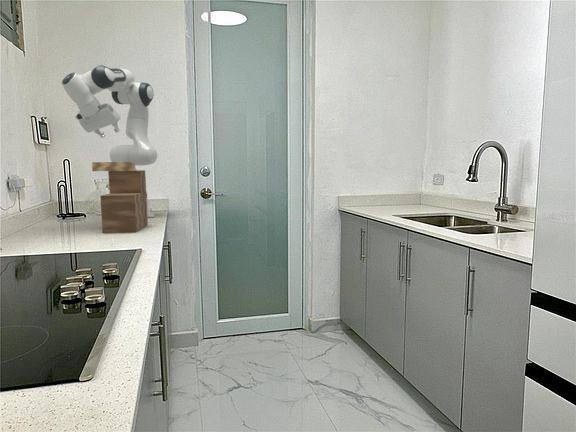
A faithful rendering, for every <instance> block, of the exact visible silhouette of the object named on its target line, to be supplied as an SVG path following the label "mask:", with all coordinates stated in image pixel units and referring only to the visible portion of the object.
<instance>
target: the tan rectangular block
mask: <svg viewBox="0 0 576 432" xmlns="http://www.w3.org/2000/svg"><path fill="white" fill-rule="evenodd" d="M91 168H92V172H108V171H135V168H136V165H135V166H134V162H112V161H110V162H109V161H105V162H104V161H103V162H102V161H100V162H99V161H97V162H94V161H93V162H92V163H91Z"/></svg>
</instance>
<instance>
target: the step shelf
mask: <svg viewBox="0 0 576 432" xmlns="http://www.w3.org/2000/svg"><path fill="white" fill-rule="evenodd" d="M107 172H108V189H109V193H106V194H102V195H100V196H99V197H100V211H101V228H102V231H101V232H102V234H121V233H122V234H123V233H124V234H126V233H127V234H128V233H129V234H130V233H138V232H139V231H141V230H142V229H144V228H146V227H147V226H148V225H149V224H148V223H149V221H148V217H147V199H148V197H147V198H146V191H147V182H146V181H147V179H146V178H147V177H146V170H139V169H138V170H137V169H136V170H135V171H107Z"/></svg>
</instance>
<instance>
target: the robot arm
mask: <svg viewBox="0 0 576 432" xmlns="http://www.w3.org/2000/svg"><path fill="white" fill-rule="evenodd" d="M61 85H62V87H63V89H64V91H65V92H66V94H67V96H68V97H69V98H70V100H72V101H73V102H74V103H75V104H76V106H77V108H78V110H79V111H78V113H77V114H76V115H75V116H74V117H75V119H76V121H78V122H79V125H81V127H82V129H83V130H84V131H85V132H86V133H92V132H94V133H95V134H96V135H98V136H99V137H100V138H102V139H103V138H105V137H106V134H105V132H104V131H103V132H102V131H100V130H101V129H102V128H106V127H108V126H112V127H113V128H114V129H113V131H114V133H115V134H116V133H119V132H120V131H121V130H120V128H119V125H118V122H119V121H120V120H121V115H120V114H119V113H118V111H117V110H116V109H115V108H114V107H113V106H112V105H111V104H109V103H106V102H105V103H103V104H101V103H100V101H99V100H98V99H97V97H96V96H95V95H96V94H99V93H100V92H102V91H104V90H108V91H110V92H111V98H112V100H113V101H114V103H116V104H118V105H129V109H128V113H127V118H126V124H125V125H126V126H125V134H126V136H127V137H128V138H129V139H131V140H132V141H133V144H120V145H116V146H113V147H112V148H111V149H110V150H109V159H110V162H134V166H135V170H137V168H136V166H149V165H153V164H155V163H156V161H157V159H158V152H157V149H156V148H155V147H154V146H153V145H152V144H151V143H150V140H149V137H148V128H149V127H148V126H149V114H150V113H149V106H150V104H151V102H152V100H153V99H154V90H153V87H152V86H151V84H150V83H147V82H135V76H134V74H133V72H132V71H130V70H129V69H126V68H121V67H118V68H114V67H113V68H110V67H108V66H105V65H102V64H99V65H97V66H95V67H94V68H93V69H91V70H88V71H86V72H85V73H83V74H78V73H76V72H71V73H69V74H68V75H66V76H65V77H64V78H63V79H62V81H61ZM146 198H147V218H154V217H155V212H151V211H152V208H151V205H150V201H149V200H148V192H147V190H146Z"/></svg>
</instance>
